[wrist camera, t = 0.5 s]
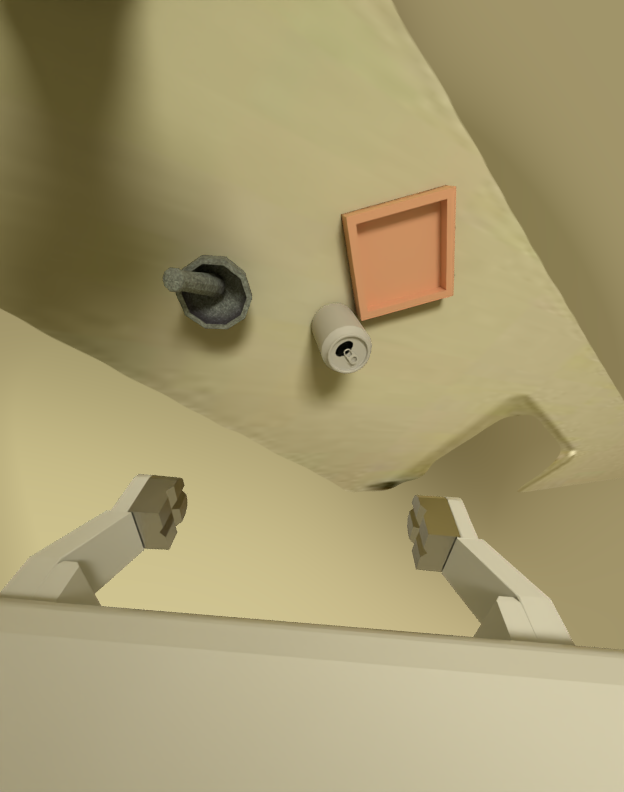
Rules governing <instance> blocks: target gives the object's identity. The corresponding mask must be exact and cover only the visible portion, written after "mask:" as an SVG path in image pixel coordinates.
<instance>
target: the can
mask: <svg viewBox="0 0 624 792" xmlns="http://www.w3.org/2000/svg"><path fill="white" fill-rule="evenodd" d="M312 331H313V335H314V337H315V340H316V343H317V345H318V348H319V351H320V353H321V356H322V359H323V361H324V362H325V364H326V365H327V366H328V367H329V368H331V369H332V370H334V371H337V372H340V373H352V372H356V371H358V370H359V369H361V368H362V367H363V366H364V365H365V364H366V363H367V361H368V359H369V357H370V353H371V348H372V343H371V338H370V337H369V335H368V333H367V332H366V330H365V329H364V328H363V326H362V325H361V323H360V322H359V320H358V319H357V318H356V316H355V315H354V313H353V312H352V310H351V309H350V308H348V307H347V306H346V305H343V304H340V303H331V304H327V305H325V306H323V307H322V308H320V309H319V310H318V311H317V313H316V314H315V315H314V318H313V320H312Z"/></svg>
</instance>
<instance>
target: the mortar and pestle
mask: <svg viewBox="0 0 624 792" xmlns="http://www.w3.org/2000/svg"><path fill="white" fill-rule="evenodd" d="M163 282H164V286H165V287H166V288H167V289H168V290H169V291H171V292H176V296H177V298H178V300H179V302H180V304H181V307H182V309H183V311H184V313H185V315H186V316H187V317H189V318H190V319H192V320H193V321H195V322H196V323H198V324H199V325H201V326H202V327H204V328H210V329H229V328H230V327H232V326H233V325H235V324H236V323H238V322H240V321H241V320H243V319H244V318H245V317H246V314H247V311H248V308H249V306H250V303H251V300H252V293H251V290H250V287H249V284H248V281H247V277H246V274H245V272H244V271H243V270H242V269H240V268H239V267H238V266H237V265H236V264H234V263H233V262H232V261H231V260H229V259H228V258H227V257H222V256H210V255H202V256H200V257H199V258H197V259H196V260H194V261H193V262H191V263H190V264H189V265H187V266H186V267H184V268H183V269H182V270H180V269H179V268H169V269H168V270H166V271H165V272H164V275H163Z"/></svg>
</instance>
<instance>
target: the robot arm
mask: <svg viewBox="0 0 624 792" xmlns="http://www.w3.org/2000/svg"><path fill="white" fill-rule="evenodd" d="M183 487H184V482H183V479H182V478H177V477H166V476H157V475H144V474H138V475H137V476H135V477H134V478H133V480H132V481H131V483H130V484H129V486H128V487H127V489H126V490H125V491H124V493H123V494H122V496H121V497H120V498H119V500H118V501H117V503H116V504H115V506H114V507H113V508H112V510H111V511H105V512H103V513H102V514H100V515H98V516H97V517H95V518H93V519H92V520H90V521H88V522H87V523H85V524H83V525H82V526H80V527H78V528H77V529H75V530H74V531H72V532H70V533H68V534H67V535H65V536H64V537H62V538H60V539H59V540H57V541H55V542H54V543H52V544H50V545H49V546H47V547H45V548H44V549H42V550H40V551H39V552H37V553H35V554H34V555H32V556H30V557H29V559H28V560H27V561H26V562H25V563H24V565H23V566H22V567H21V568H20V570H19V571H18V572H17V573H16V574H15V575H14V576H13V578H12V579H11V580H10V581H9V582H8V584H7V585H6V586H5V587H4V588H3V590H2V591H1V592H0V792H624V650H621V649H609V648H597V647H585V646H575V645H574V643H573V641H572V639H571V637H570V635H569V633H568V631H567V629H566V627H565V626H564V624H563V622H562V620H561V618H560V616H559V614H558V613H557V610H556V609H555V607H554V605H553V603H552V601H551V599H550V598H549V597H547V596H546V595H545V594H544V593H543V592H542V591H541V590H539V589H538V588H537V587H536V586H535V585H534V584H533V583H532V582H530V581H529V580H528V579H527V578H526V577H525V576H524V575H522V574H521V573H520V572H519V571H518V570H517V569H516V568H514V566H512V565H511V564H510V563H509V562H508V561H507V560H506V559H504V558H503V557H502V556H501V555H500V554H499V553H498V552H497V551H495V550H494V549H493V548H492V547H491V546H490V545H489V544H488V543H486V542H485V541H484V540H483V539H478V537H477V534H476V532H475V530H474V528H473V525H472V523H471V520H470V518H469V516H468V513H467V511H466V508H465V506H464V504H463V502H462V500H461V499H460V498H454V497H440V496H423V495H415V496H414V498H413V501H412V504H413V509H412V510H411V511H410V512H409V515H408V525H407V527H408V534H409V539H410V540H411V541H412V542H413V543H414V546H413V549H412V553H413V557H414V562H415V566H416V569H419V570H428V571H438V572H442V574H443V576H444V577H445V578H446V579H447V581H448V582H449V583H450V585H451V586H452V587H453V588H454V590H455V591H456V592H457V594H458V595H459V596H460V597H461V598H462V600H463V601H464V602H465V604H466V605H467V606H468V608H469V609H470V610H471V611H472V613H473V614H474V615H475V616H476V618H477V619H478V620H479V622H480V623H481V626H480V627H479V629H478V631H477V632H476V634H475V635H474V637H465V636H453V635H440V634H429V633H417V632H405V631H393V630H381V629H369V628H357V627H345V626H332V625H321V624H309V623H298V622H285V621H273V620H260V619H248V618H237V617H223V616H213V615H200V614H189V613H176V612H164V611H153V610H140V609H129V608H117V607H116V608H115V607H104V606H101V605H100V603H99V601H98V599H97V598H96V596H95V593H96V592H97V591H98V590H99V589H100V588H102V587H103V586H104V585H105V584H106V583H107V582H108V581H110V580H111V579H112V578H113V577H114V576H115V575H116V574H117V573H119V572H120V571H121V570H122V569H123V568H124V567H125V566H126V565H127V564H129V563H130V562H131V561H132V560H133V559H134V558H136V557H137V556H138V555H139V554H140V553H141V552H142V551H143V550H144V548H147V549H166V550H168V549H170V547H171V545H172V542H173V540H174V538H175V536H176V534H177V530H176V526H177V525H178V524H179V523H181V522H182V520H183V518H184V516H185V513H186V509H187V496H186V494H185V493H184V492H183V491H182V489H183Z"/></svg>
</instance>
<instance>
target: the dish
mask: <svg viewBox="0 0 624 792" xmlns="http://www.w3.org/2000/svg"><path fill="white" fill-rule="evenodd" d="M455 210H456V186H448V185H445V186H441V187H438V188H434V189H430V190H427V191H423V192H420V193H416V194H413V195H409V196H405V197H402V198H398V199H395V200H391V201H387V202H384V203H380V204H377V205H373V206H370V207H366V208H362V209H359V210H355V211H352V212H348V213H345V214H341V216H342V222H343V229H344V235H345V242H346V248H347V255H348V261H349V268H350V274H351V281H352V287H353V294H354V300H355V307H356V313H357V315H358V317H359V318H360V320H361V321H363V320H367V319H371V318H374V317H378V316H381V315H385V314H389V313H392V312H396V311H399V310H403V309H407V308H410V307H414V306H417V305H421V304H425V303H428V302H432V301H435V300H439V299H443V298H446V297H450V296H453V289H454V250H455Z"/></svg>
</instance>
